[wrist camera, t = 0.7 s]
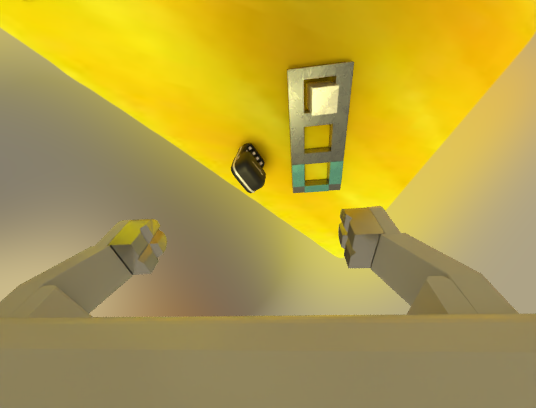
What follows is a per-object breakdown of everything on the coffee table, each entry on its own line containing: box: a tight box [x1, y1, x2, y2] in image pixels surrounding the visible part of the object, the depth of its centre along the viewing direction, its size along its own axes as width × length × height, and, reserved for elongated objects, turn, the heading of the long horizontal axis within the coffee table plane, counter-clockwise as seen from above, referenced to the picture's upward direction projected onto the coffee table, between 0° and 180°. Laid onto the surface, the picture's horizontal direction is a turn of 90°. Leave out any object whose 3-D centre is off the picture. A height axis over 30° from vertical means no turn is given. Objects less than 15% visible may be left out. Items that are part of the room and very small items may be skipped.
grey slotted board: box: [287, 61, 354, 193], centre depth 43 cm, size 25×11×3 cm, turn 6°
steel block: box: [307, 80, 339, 116], centre depth 36 cm, size 4×4×8 cm
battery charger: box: [231, 143, 266, 193], centre depth 42 cm, size 7×4×11 cm, turn 33°
